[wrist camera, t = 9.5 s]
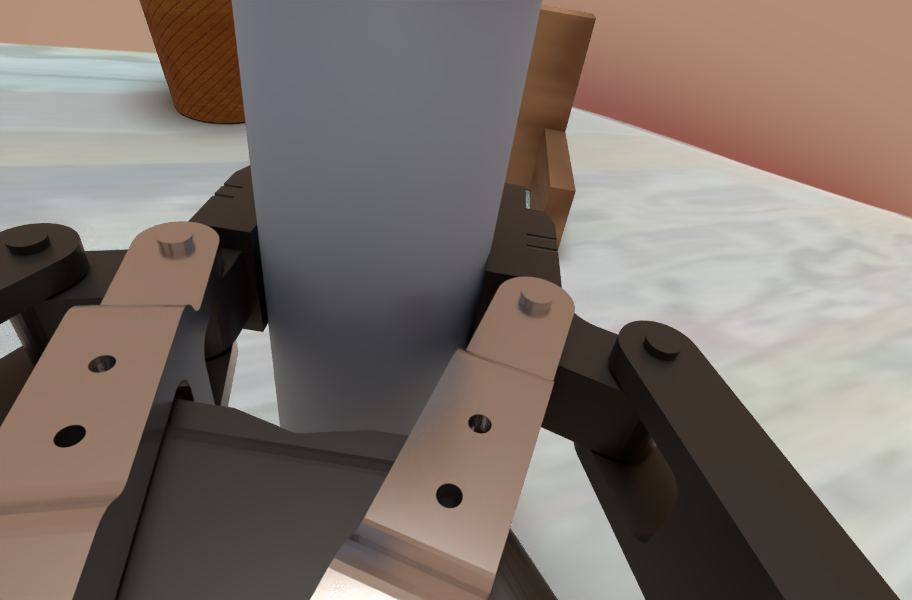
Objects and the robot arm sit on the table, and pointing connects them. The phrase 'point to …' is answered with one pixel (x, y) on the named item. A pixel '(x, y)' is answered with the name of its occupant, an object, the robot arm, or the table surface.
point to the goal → (550, 112)
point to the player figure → (376, 190)
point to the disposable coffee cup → (198, 56)
